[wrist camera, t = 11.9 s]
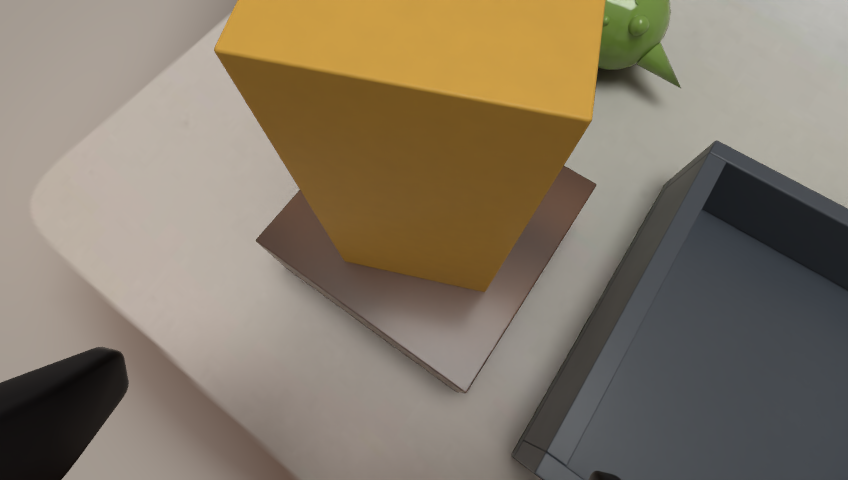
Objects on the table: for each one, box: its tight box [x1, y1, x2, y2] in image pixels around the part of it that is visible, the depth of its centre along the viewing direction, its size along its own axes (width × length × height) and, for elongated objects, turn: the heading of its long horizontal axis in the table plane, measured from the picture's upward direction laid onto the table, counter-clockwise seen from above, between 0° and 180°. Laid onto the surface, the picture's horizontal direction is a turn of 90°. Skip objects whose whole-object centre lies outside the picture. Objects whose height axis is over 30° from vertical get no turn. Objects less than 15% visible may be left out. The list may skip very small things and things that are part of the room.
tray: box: [512, 141, 848, 480], centre depth 17 cm, size 16×16×4 cm
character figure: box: [598, 0, 681, 88], centre depth 23 cm, size 12×5×12 cm
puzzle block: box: [214, 0, 606, 292], centre depth 12 cm, size 6×6×11 cm
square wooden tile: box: [256, 166, 596, 393], centre depth 19 cm, size 10×10×4 cm
